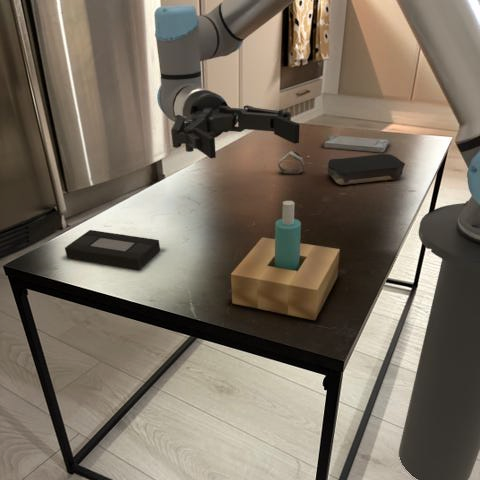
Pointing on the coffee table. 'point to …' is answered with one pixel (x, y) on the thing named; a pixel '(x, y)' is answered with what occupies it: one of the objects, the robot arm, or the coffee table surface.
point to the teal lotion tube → (287, 239)
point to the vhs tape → (113, 249)
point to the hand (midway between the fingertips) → (256, 141)
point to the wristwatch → (295, 158)
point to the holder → (285, 280)
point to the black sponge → (365, 169)
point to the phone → (356, 143)
